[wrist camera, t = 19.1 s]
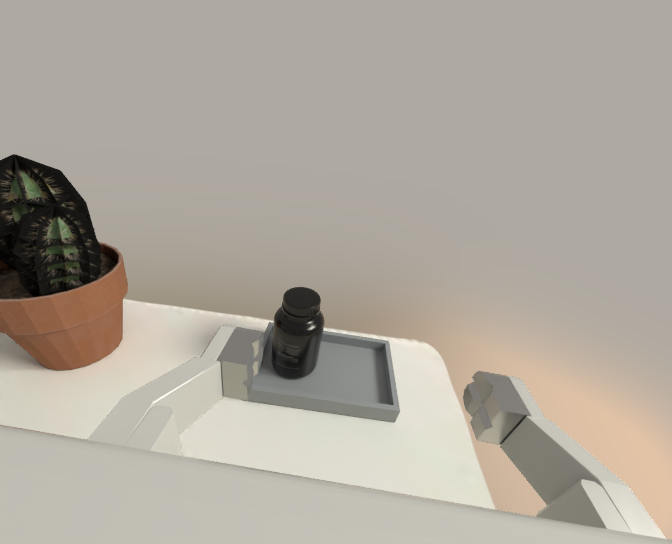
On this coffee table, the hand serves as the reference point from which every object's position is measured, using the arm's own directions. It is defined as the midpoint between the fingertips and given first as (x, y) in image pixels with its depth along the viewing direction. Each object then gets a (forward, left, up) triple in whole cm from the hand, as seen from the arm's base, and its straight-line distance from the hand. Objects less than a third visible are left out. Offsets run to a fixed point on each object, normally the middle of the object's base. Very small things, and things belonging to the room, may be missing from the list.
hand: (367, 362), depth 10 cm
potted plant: (-24, +31, -26) cm, 47 cm away
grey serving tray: (+8, +19, -26) cm, 33 cm away
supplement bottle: (+4, +21, -25) cm, 33 cm away
